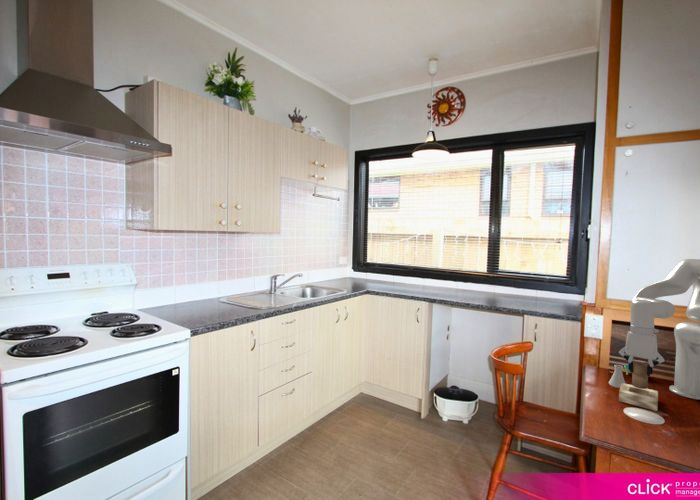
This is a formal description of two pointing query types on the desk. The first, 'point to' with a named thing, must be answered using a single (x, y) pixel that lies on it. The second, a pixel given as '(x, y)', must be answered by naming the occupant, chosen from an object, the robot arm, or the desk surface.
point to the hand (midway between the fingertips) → (640, 373)
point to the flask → (617, 377)
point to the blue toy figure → (627, 369)
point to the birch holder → (638, 396)
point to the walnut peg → (640, 374)
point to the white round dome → (644, 415)
